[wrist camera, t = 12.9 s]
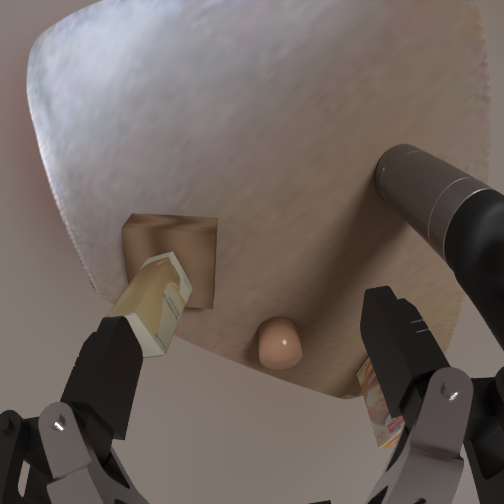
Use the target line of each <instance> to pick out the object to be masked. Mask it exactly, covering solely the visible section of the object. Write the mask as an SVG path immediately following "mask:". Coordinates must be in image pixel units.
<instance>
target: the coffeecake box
mask: <svg viewBox="0 0 504 504" xmlns="http://www.w3.org/2000/svg"><path fill="white" fill-rule="evenodd" d="M357 377H358V380H359V383H360V386H361V390H362V393H363V396H364V399H365V403H366V406H367V409H368V413H369V416H370V419H371V423H372V426H373V430H374V433H375V437H376V440H377V444H378V449H381V448H388V447H393V446H395V445H396V443H397V441H398V438H399V436H400V433H401V431H402V428H403V426H404V424H405V422H404V419H403V416H399V417H396V418H392V419H391V416H390V413H389V410H388V407H387V404H386V401H385V399H384V396H383V393H382V390H381V387H380V385H379V382H378V379H377V376H376V374H375V371H374V368H373V366H372V363H371V361H370V358H369V357H368V358H367V360H366V361H365V363H364V364H363V365H362V367H361V368H360V370H359V371H358V372H357Z"/></svg>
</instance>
